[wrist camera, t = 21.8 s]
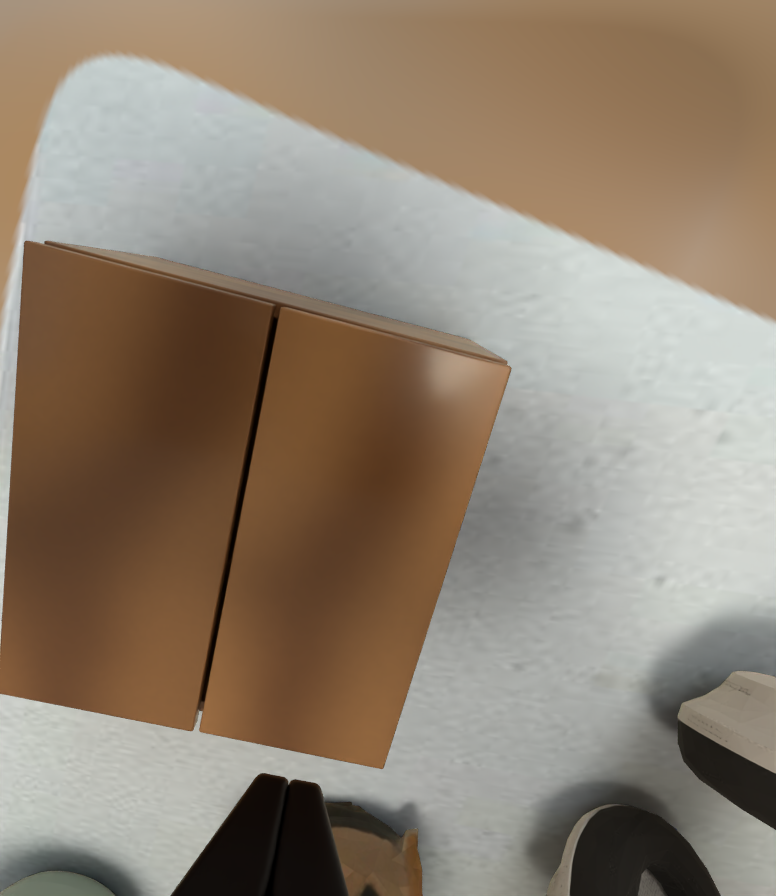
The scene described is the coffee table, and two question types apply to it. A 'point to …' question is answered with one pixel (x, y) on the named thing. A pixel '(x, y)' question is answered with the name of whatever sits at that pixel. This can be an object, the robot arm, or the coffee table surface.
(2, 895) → the cup
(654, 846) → the headphones
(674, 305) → the coffee table surface
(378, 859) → the figurine
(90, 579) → the wooden box
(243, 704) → the flap
